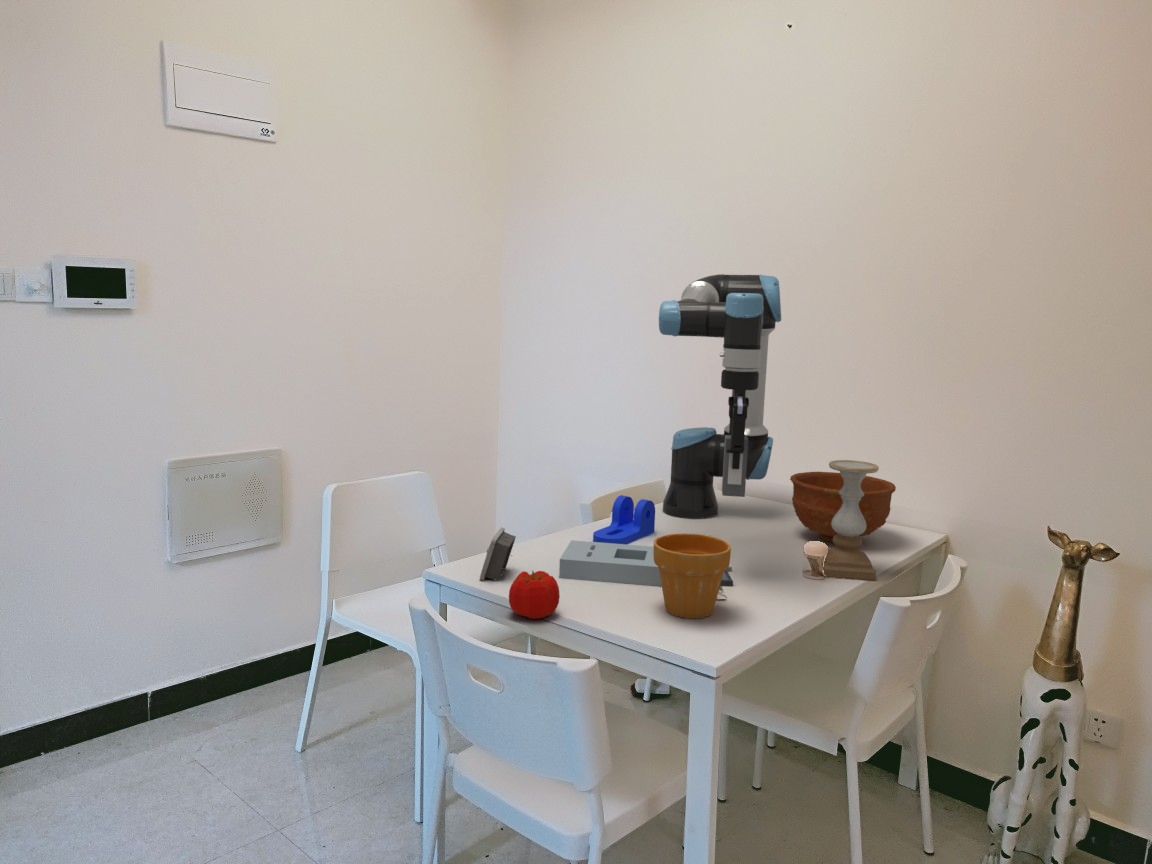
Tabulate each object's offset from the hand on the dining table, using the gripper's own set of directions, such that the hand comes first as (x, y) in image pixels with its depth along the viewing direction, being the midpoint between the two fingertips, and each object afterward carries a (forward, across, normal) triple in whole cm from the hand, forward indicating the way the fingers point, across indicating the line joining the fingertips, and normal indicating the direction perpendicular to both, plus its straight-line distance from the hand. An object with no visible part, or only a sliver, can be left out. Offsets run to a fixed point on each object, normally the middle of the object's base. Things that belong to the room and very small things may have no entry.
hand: (733, 481), depth 173 cm
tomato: (+21, +30, -36) cm, 52 cm away
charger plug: (+3, 0, 0) cm, 3 cm away
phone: (+21, +4, -7) cm, 22 cm away
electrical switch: (+21, +10, -48) cm, 53 cm away
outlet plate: (+21, +2, -24) cm, 31 cm away
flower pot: (+21, +22, -8) cm, 31 cm away
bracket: (+21, -24, -25) cm, 40 cm away
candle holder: (+21, -9, +26) cm, 34 cm away
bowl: (+21, -35, +28) cm, 50 cm away
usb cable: (+21, -5, -6) cm, 22 cm away
